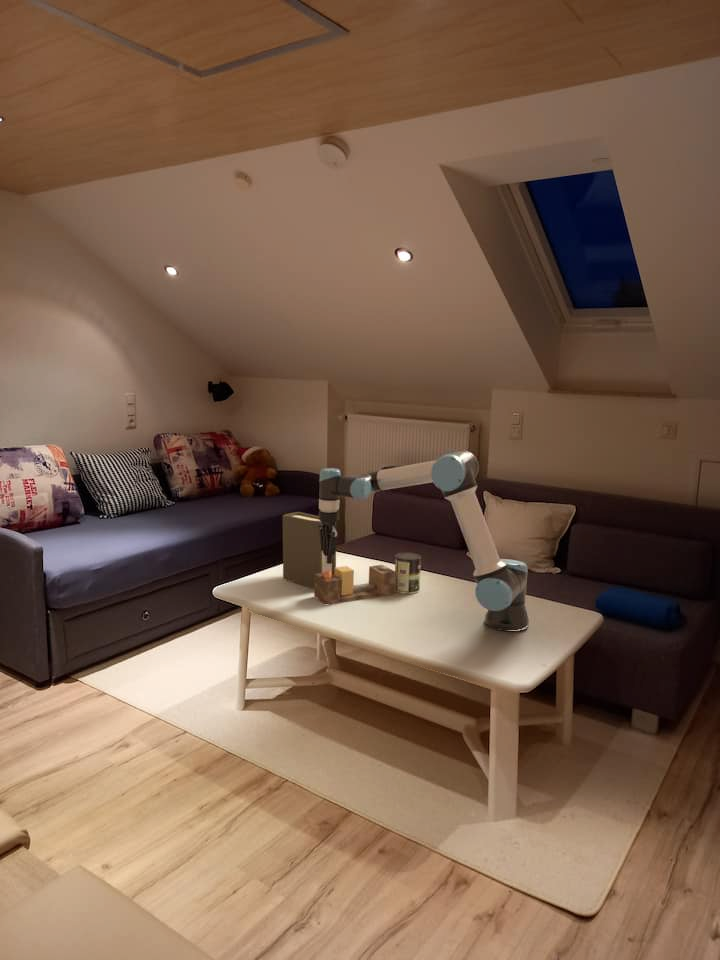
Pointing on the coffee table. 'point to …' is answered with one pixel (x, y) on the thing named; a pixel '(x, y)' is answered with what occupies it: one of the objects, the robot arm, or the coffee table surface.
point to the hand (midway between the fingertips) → (327, 571)
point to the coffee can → (407, 573)
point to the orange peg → (327, 575)
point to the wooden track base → (331, 592)
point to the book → (302, 548)
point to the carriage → (345, 579)
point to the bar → (364, 587)
